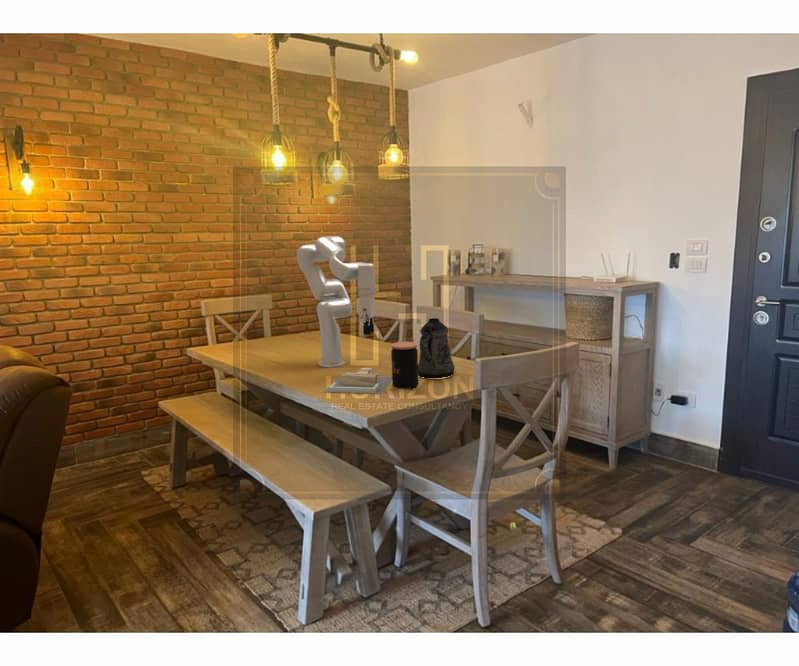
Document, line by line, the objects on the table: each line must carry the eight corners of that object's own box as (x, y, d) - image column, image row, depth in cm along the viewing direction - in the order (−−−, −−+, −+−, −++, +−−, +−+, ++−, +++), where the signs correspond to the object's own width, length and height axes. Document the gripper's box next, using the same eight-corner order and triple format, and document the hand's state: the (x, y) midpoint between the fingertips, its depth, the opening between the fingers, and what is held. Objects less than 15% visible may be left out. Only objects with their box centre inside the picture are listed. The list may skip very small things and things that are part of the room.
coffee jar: (391, 384, 244) (390, 342, 240) (417, 383, 244) (415, 341, 241) (393, 391, 233) (391, 347, 230) (419, 390, 234) (418, 346, 231)
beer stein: (453, 369, 264) (452, 315, 260) (456, 381, 245) (455, 322, 241) (417, 370, 265) (415, 316, 260) (417, 382, 246) (415, 323, 241)
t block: (351, 376, 254) (351, 367, 254) (382, 377, 251) (382, 368, 251) (342, 385, 241) (342, 375, 241) (375, 385, 238) (375, 376, 238)
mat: (341, 377, 257) (341, 371, 256) (394, 378, 252) (394, 372, 251) (322, 394, 232) (322, 387, 231) (381, 396, 227) (380, 389, 226)
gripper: (363, 289, 260) (365, 329, 264) (353, 294, 244) (355, 337, 248) (380, 289, 259) (381, 329, 262) (370, 294, 243) (372, 337, 246)
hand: (368, 332), depth 255 cm, fingers open, 4 cm apart
